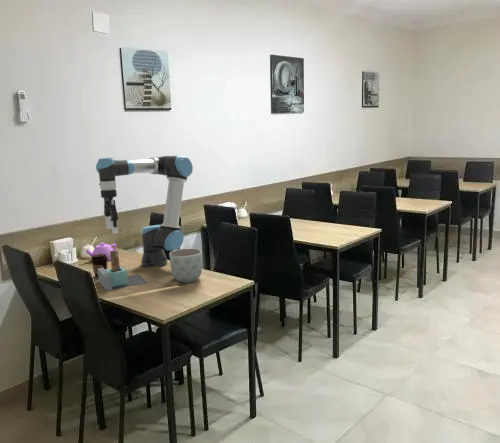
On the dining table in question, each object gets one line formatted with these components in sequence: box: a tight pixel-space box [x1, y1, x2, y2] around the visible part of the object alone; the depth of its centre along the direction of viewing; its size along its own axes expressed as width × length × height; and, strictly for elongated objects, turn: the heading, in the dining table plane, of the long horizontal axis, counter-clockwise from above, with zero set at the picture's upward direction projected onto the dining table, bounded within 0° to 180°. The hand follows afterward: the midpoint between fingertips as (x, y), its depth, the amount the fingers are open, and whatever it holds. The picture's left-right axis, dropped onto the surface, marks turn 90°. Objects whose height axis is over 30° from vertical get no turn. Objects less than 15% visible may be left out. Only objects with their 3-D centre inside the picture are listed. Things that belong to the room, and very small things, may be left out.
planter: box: [168, 247, 203, 284], centre depth 253 cm, size 17×17×15 cm
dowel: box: [110, 249, 121, 272], centre depth 248 cm, size 4×4×14 cm
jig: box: [98, 268, 148, 292], centre depth 251 cm, size 21×18×8 cm
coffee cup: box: [90, 254, 108, 279], centre depth 262 cm, size 9×8×13 cm
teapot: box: [85, 242, 118, 262], centre depth 301 cm, size 14×20×11 cm
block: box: [105, 266, 129, 287], centre depth 249 cm, size 9×9×7 cm
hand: (112, 231), depth 244 cm, fingers open, 13 cm apart
